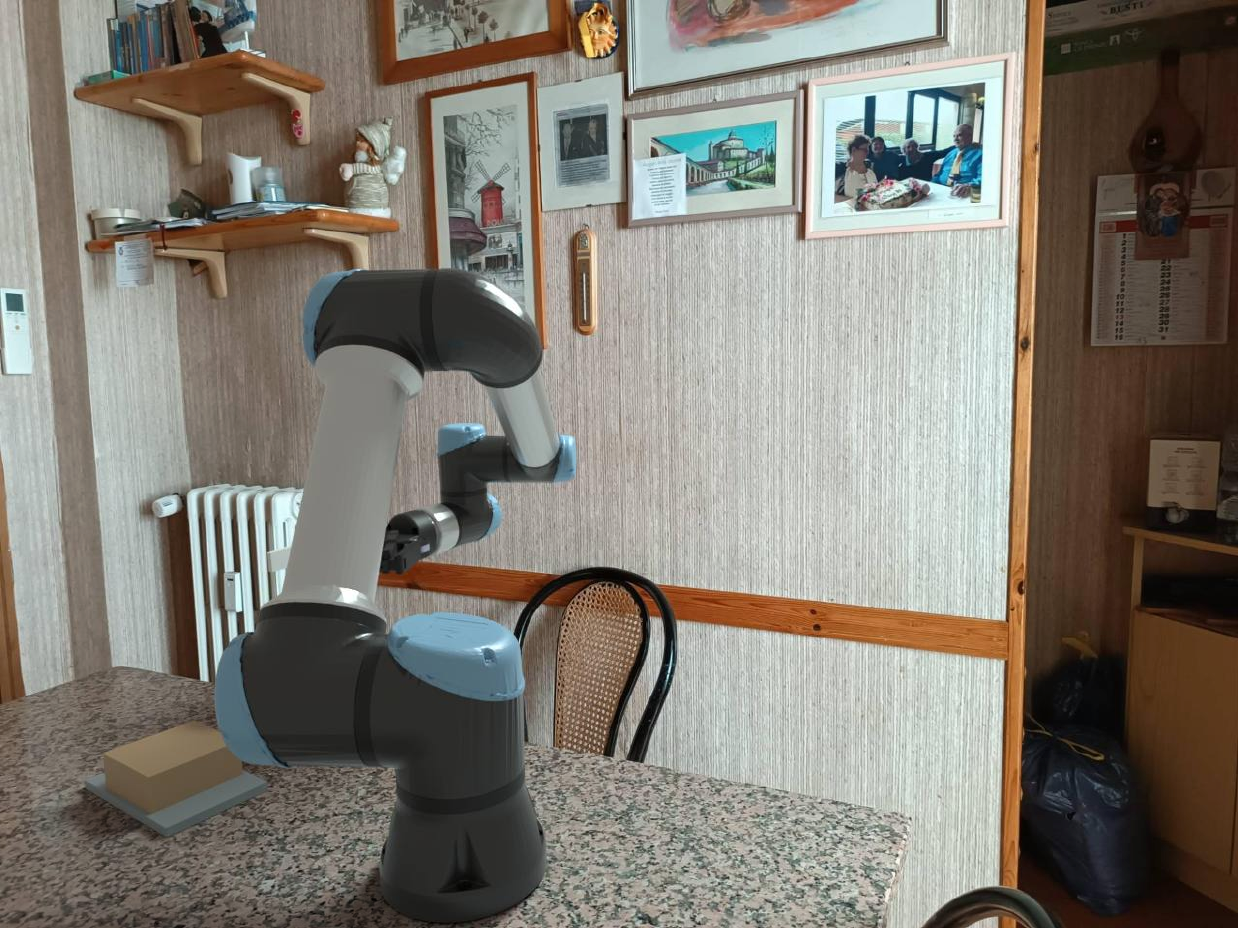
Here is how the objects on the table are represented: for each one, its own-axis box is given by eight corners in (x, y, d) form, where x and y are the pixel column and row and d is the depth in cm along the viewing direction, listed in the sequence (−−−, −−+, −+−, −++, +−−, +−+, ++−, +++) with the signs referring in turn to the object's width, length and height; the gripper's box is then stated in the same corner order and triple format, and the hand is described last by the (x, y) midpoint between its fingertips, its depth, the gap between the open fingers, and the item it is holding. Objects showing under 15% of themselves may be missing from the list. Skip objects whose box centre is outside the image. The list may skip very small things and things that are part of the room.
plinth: (268, 790, 89) (265, 747, 88) (166, 837, 80) (163, 790, 79) (183, 750, 99) (180, 711, 98) (85, 788, 90) (81, 745, 89)
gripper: (485, 568, 116) (370, 612, 98) (366, 547, 128) (246, 582, 111) (482, 518, 114) (366, 553, 96) (363, 501, 127) (241, 530, 109)
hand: (301, 569), depth 104 cm, fingers open, 13 cm apart
